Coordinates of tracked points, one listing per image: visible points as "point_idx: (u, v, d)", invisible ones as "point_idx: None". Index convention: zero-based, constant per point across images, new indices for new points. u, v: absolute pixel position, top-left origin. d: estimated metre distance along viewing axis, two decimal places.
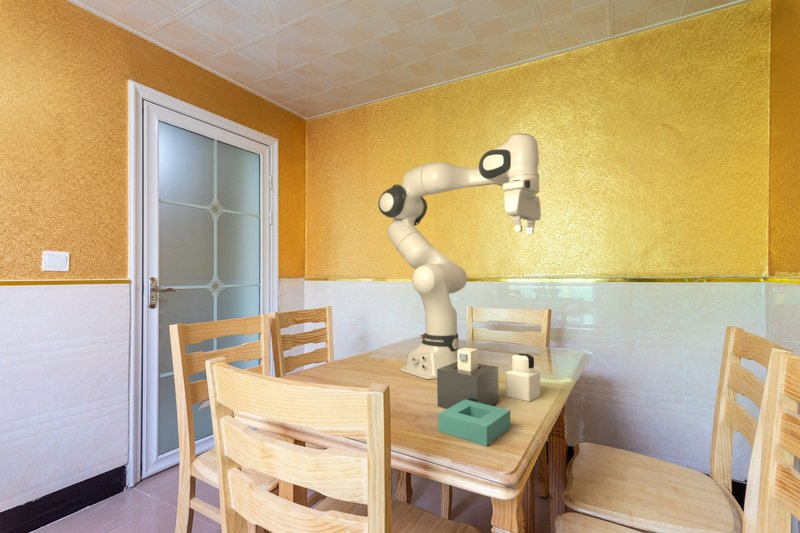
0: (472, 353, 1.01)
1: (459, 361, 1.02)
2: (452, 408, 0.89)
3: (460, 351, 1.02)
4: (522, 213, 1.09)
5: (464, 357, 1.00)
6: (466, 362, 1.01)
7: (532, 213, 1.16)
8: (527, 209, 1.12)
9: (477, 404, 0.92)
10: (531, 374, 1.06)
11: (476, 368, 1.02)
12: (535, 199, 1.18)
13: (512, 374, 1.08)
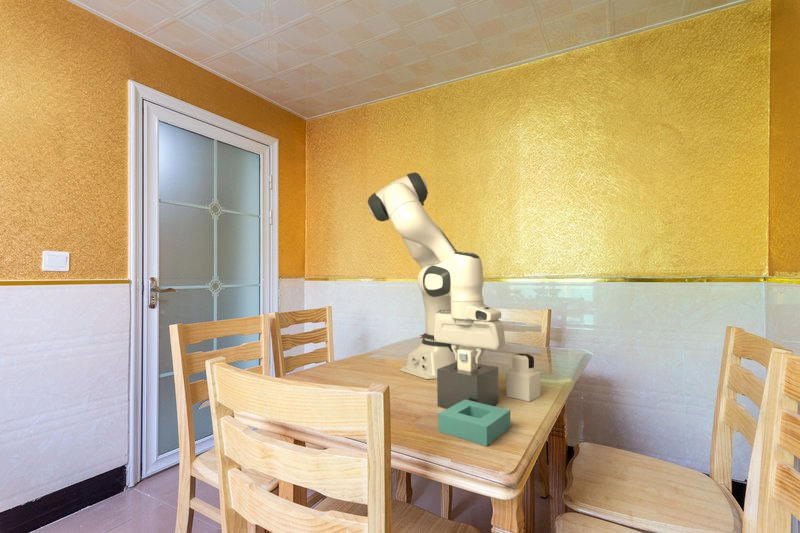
0: (472, 353, 1.01)
1: (459, 361, 1.02)
2: (452, 408, 0.89)
3: (460, 351, 1.02)
4: None
5: (464, 357, 1.00)
6: (466, 362, 1.01)
7: None
8: None
9: (477, 404, 0.92)
10: (531, 374, 1.06)
11: (476, 368, 1.02)
12: None
13: (512, 374, 1.08)
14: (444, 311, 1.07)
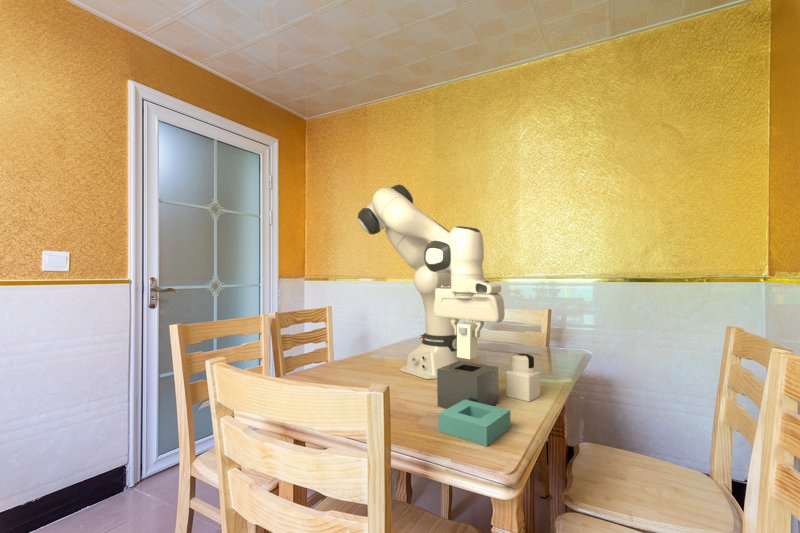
0: (472, 327, 1.01)
1: (458, 335, 1.02)
2: (452, 408, 0.89)
3: (460, 325, 1.02)
4: None
5: (463, 331, 1.00)
6: (465, 336, 1.01)
7: None
8: None
9: (477, 404, 0.92)
10: (531, 374, 1.06)
11: (475, 343, 1.03)
12: None
13: (512, 374, 1.08)
14: (444, 286, 1.07)
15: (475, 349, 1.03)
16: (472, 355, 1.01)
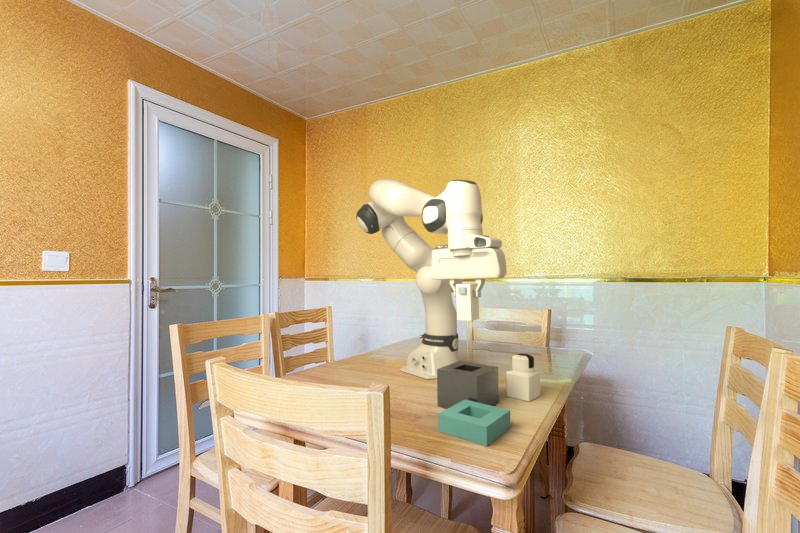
0: (472, 286, 0.94)
1: (458, 296, 0.95)
2: (452, 408, 0.89)
3: (459, 285, 0.95)
4: None
5: (463, 290, 0.94)
6: (465, 296, 0.94)
7: None
8: None
9: (477, 404, 0.92)
10: (531, 374, 1.06)
11: (476, 304, 0.95)
12: None
13: (512, 374, 1.08)
14: (441, 246, 1.01)
15: (476, 310, 0.95)
16: (473, 316, 0.94)
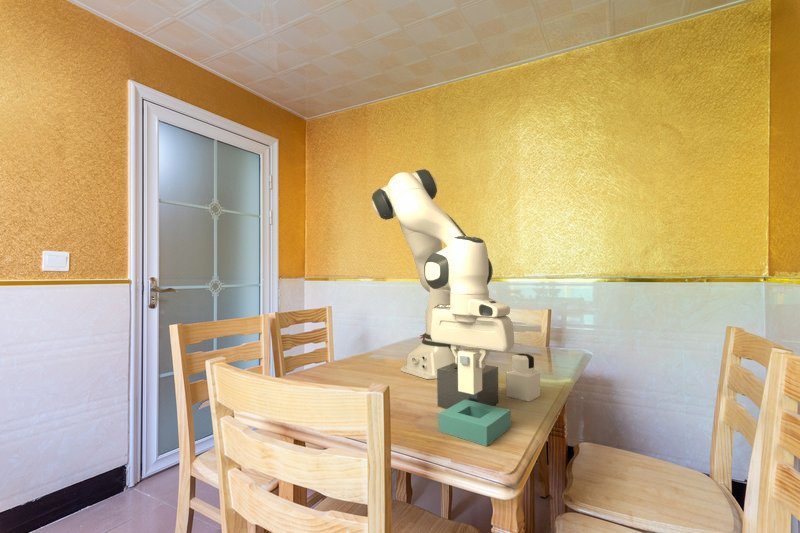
0: (475, 355, 0.85)
1: (460, 365, 0.86)
2: (452, 408, 0.89)
3: (461, 353, 0.86)
4: None
5: (465, 360, 0.85)
6: (468, 366, 0.85)
7: None
8: None
9: (477, 404, 0.92)
10: (531, 374, 1.06)
11: (479, 374, 0.86)
12: None
13: (512, 374, 1.08)
14: (443, 306, 0.91)
15: (480, 382, 0.86)
16: (476, 389, 0.85)
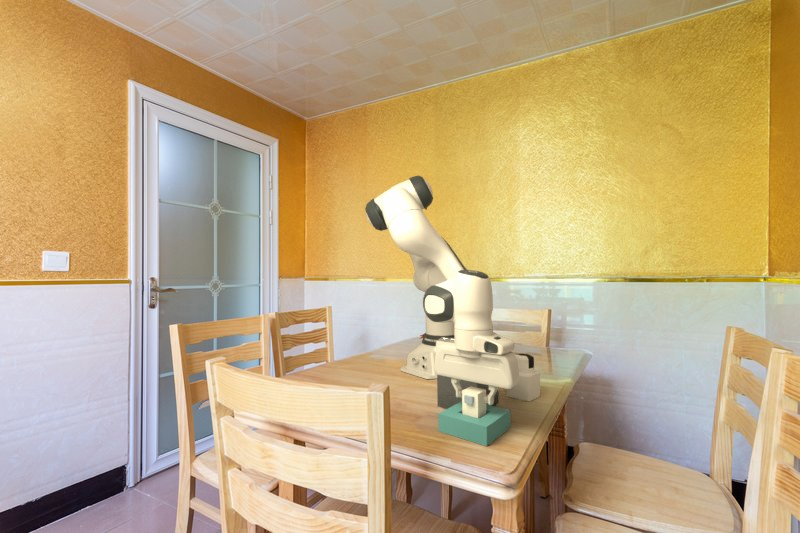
0: (480, 395, 0.85)
1: (464, 404, 0.86)
2: (452, 408, 0.89)
3: (465, 392, 0.86)
4: None
5: (470, 400, 0.85)
6: (472, 406, 0.85)
7: None
8: None
9: None
10: (531, 374, 1.06)
11: (484, 413, 0.87)
12: None
13: None
14: (446, 339, 0.91)
15: None
16: None
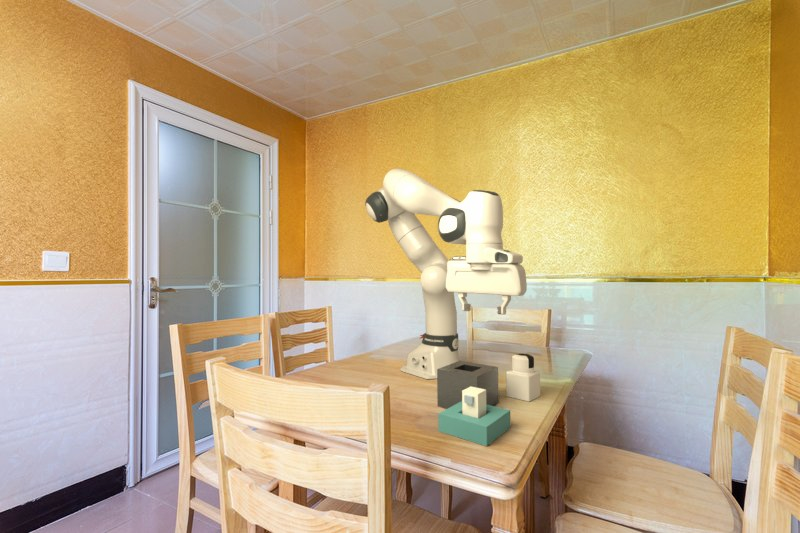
0: (480, 395, 0.85)
1: (464, 404, 0.86)
2: (452, 408, 0.89)
3: (465, 392, 0.86)
4: None
5: (470, 400, 0.85)
6: (472, 406, 0.85)
7: None
8: None
9: None
10: (531, 374, 1.06)
11: (484, 413, 0.87)
12: None
13: (512, 374, 1.08)
14: (458, 258, 0.97)
15: None
16: None
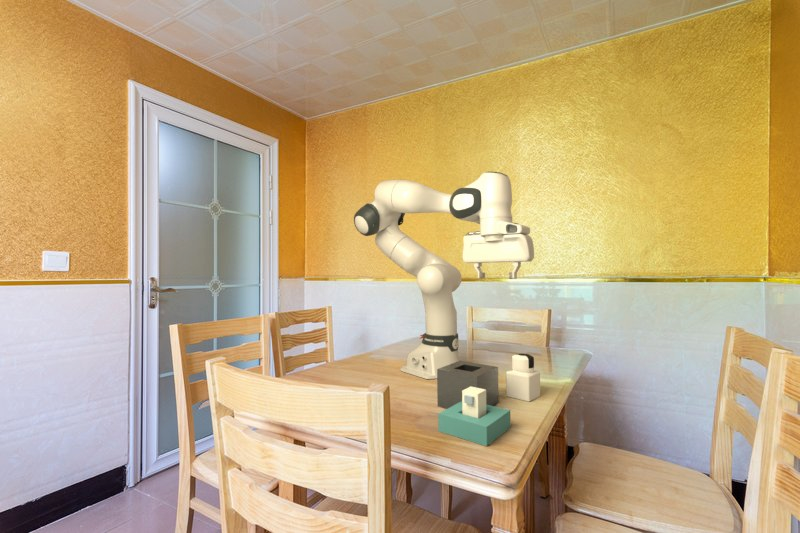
0: (480, 395, 0.85)
1: (464, 404, 0.86)
2: (452, 408, 0.89)
3: (465, 392, 0.86)
4: None
5: (470, 400, 0.85)
6: (472, 406, 0.85)
7: None
8: None
9: None
10: (531, 374, 1.06)
11: (484, 413, 0.87)
12: None
13: (512, 374, 1.08)
14: (473, 232, 1.10)
15: None
16: None
